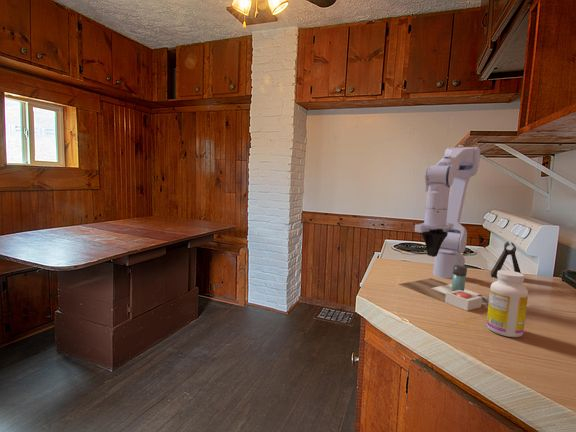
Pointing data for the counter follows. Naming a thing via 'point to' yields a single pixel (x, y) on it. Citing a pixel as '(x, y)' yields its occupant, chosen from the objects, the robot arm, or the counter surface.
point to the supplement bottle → (507, 304)
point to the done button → (464, 295)
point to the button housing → (463, 300)
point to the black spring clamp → (502, 260)
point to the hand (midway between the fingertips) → (432, 255)
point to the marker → (459, 277)
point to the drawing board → (438, 290)
